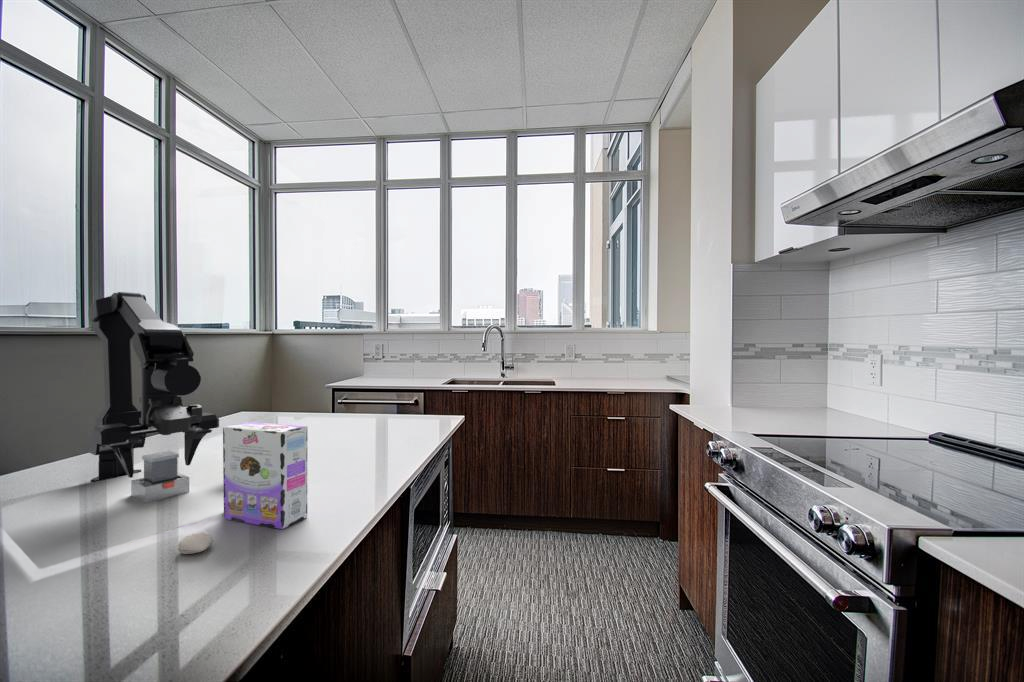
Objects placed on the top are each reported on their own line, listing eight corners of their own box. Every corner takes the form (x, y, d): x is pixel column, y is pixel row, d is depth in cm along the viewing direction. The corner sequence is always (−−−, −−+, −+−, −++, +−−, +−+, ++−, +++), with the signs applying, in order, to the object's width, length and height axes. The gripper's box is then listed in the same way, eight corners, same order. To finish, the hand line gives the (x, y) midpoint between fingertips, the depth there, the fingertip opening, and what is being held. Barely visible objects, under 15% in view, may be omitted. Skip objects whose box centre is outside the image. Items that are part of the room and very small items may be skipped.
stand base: (109, 502, 83) (109, 481, 83) (183, 484, 94) (183, 466, 94) (133, 516, 77) (133, 494, 77) (209, 495, 87) (209, 475, 87)
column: (141, 494, 85) (141, 455, 85) (169, 487, 88) (169, 450, 88) (150, 499, 82) (150, 459, 82) (179, 492, 86) (179, 454, 86)
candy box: (309, 517, 77) (309, 425, 77) (281, 531, 72) (282, 431, 72) (251, 507, 82) (251, 419, 82) (221, 519, 76) (221, 425, 76)
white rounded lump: (208, 542, 68) (208, 526, 68) (219, 553, 65) (219, 536, 65) (174, 553, 65) (174, 536, 65) (184, 564, 61) (184, 546, 61)
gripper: (112, 400, 73) (112, 493, 73) (232, 389, 89) (232, 465, 89) (90, 395, 79) (91, 481, 79) (206, 386, 95) (206, 457, 95)
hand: (160, 470), depth 85 cm, fingers open, 9 cm apart
